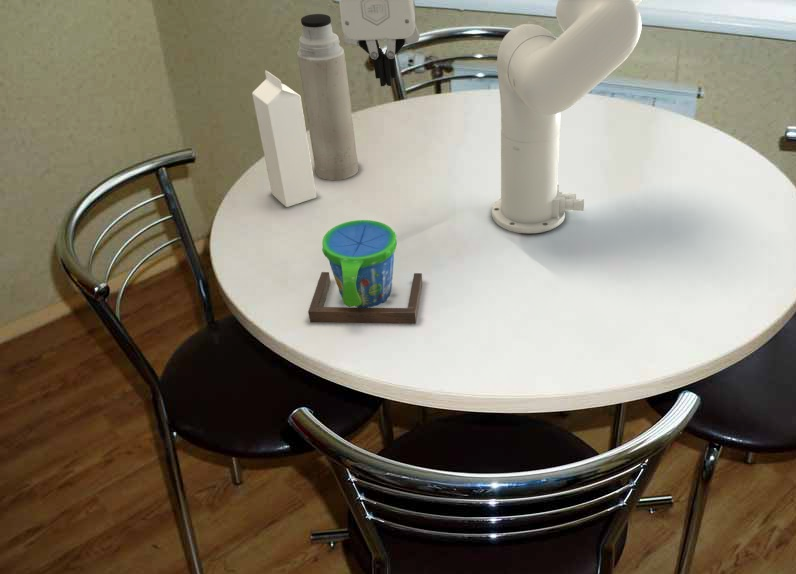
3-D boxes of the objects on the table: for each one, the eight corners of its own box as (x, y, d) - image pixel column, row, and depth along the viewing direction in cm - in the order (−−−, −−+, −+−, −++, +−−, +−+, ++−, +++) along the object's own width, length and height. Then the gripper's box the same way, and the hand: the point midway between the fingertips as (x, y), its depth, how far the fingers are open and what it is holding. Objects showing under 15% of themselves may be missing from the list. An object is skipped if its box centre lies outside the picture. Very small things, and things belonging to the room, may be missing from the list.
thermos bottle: (335, 157, 162) (314, 6, 144) (367, 167, 158) (349, 14, 140) (306, 173, 156) (281, 19, 138) (339, 184, 153) (317, 28, 135)
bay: (422, 283, 129) (421, 273, 127) (415, 324, 121) (414, 312, 120) (323, 282, 129) (321, 271, 128) (309, 322, 121) (307, 311, 120)
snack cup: (384, 331, 119) (377, 272, 113) (314, 322, 121) (303, 263, 115) (414, 271, 131) (409, 214, 125) (350, 264, 133) (342, 207, 126)
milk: (286, 208, 147) (262, 85, 132) (271, 194, 150) (246, 73, 136) (317, 197, 149) (297, 76, 135) (302, 184, 153) (281, 65, 139)
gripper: (310, -43, 108) (332, 94, 120) (424, -46, 108) (436, 91, 120) (319, -58, 114) (340, 74, 126) (429, -62, 114) (439, 71, 126)
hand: (387, 82), depth 123 cm, fingers closed
